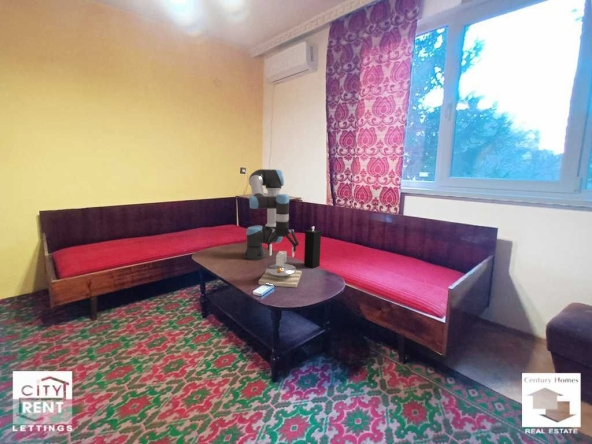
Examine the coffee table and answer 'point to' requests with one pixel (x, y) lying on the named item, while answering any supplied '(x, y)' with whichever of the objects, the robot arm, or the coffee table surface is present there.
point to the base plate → (281, 279)
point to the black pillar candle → (312, 248)
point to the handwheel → (281, 266)
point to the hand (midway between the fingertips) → (281, 256)
